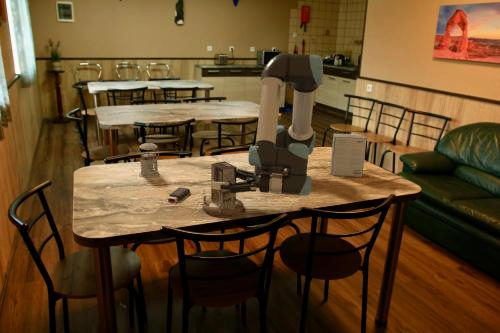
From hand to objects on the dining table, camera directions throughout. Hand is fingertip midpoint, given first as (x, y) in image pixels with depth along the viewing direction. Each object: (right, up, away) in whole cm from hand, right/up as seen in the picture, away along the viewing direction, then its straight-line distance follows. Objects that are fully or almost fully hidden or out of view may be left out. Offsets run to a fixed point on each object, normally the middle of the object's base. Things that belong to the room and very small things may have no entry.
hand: (215, 178), depth 156 cm
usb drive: (-16, -8, +13) cm, 22 cm away
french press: (-34, +1, +37) cm, 51 cm away
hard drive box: (+62, +1, +49) cm, 79 cm away
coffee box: (+3, -10, +3) cm, 11 cm away
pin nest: (+3, -12, +4) cm, 12 cm away
